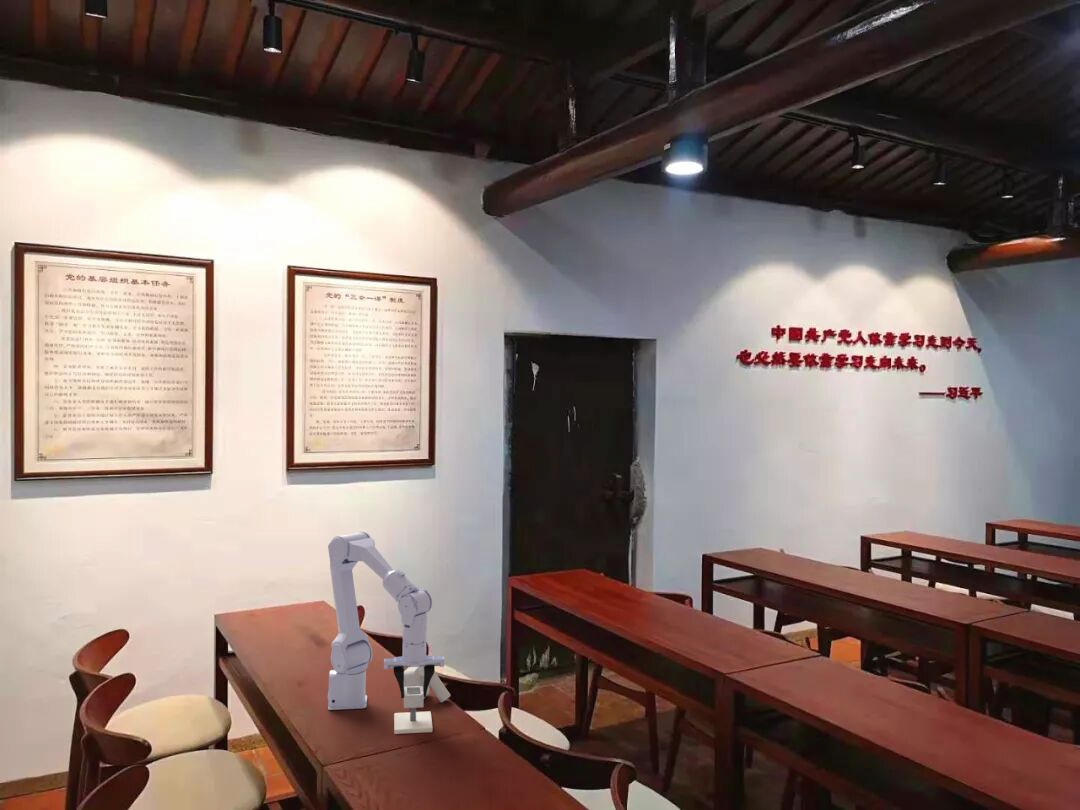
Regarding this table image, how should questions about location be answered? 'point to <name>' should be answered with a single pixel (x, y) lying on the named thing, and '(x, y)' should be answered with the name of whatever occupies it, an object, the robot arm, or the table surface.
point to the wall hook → (416, 678)
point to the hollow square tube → (413, 697)
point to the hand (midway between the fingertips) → (413, 696)
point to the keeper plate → (412, 722)
